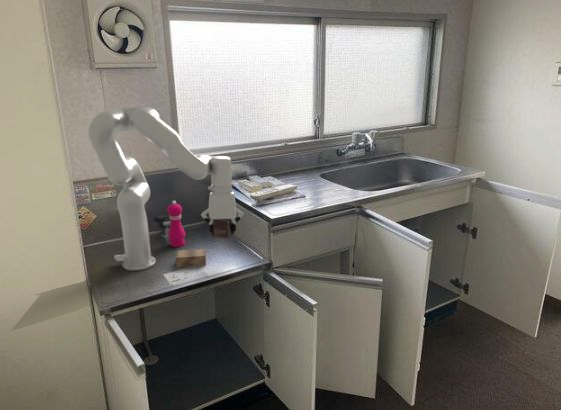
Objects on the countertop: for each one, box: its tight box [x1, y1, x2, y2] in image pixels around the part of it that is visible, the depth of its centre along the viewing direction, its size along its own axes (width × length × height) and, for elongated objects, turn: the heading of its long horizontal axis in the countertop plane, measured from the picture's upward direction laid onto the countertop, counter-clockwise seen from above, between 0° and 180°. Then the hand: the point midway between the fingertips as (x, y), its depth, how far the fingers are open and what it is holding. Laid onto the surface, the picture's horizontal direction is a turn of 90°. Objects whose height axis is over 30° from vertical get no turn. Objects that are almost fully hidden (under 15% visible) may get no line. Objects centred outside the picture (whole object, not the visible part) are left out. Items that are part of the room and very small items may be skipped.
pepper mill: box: [167, 200, 186, 248], centre depth 192 cm, size 7×7×20 cm
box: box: [212, 219, 233, 239], centre depth 172 cm, size 6×6×7 cm
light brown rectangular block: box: [175, 248, 207, 268], centre depth 176 cm, size 11×7×4 cm, turn 97°
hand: (223, 232), depth 173 cm, fingers closed on box, 7 cm apart
